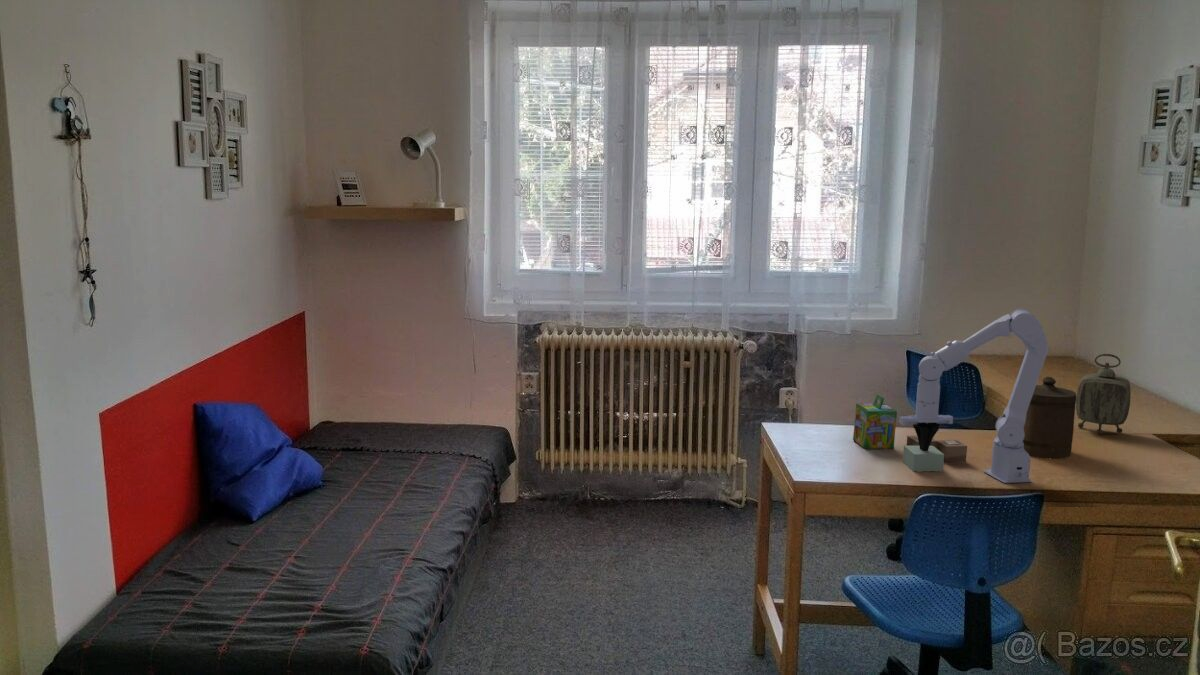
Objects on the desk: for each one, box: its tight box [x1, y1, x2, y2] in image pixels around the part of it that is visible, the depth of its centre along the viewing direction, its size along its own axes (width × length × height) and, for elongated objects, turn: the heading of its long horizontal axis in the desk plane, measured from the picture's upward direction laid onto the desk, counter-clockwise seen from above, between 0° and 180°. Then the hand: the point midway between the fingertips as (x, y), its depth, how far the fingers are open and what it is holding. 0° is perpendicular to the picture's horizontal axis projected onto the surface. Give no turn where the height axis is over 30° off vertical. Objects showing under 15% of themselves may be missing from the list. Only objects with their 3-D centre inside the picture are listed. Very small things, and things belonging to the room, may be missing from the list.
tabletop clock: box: [1075, 353, 1132, 435], centre depth 274 cm, size 14×9×25 cm, turn 59°
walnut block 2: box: [935, 439, 968, 464], centre depth 247 cm, size 6×6×5 cm
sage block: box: [902, 445, 945, 473], centre depth 240 cm, size 8×8×5 cm
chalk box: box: [852, 394, 898, 450], centre depth 259 cm, size 9×9×15 cm
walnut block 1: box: [905, 435, 938, 449], centre depth 251 cm, size 6×6×5 cm
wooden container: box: [1023, 376, 1077, 460], centre depth 254 cm, size 15×15×22 cm
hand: (923, 449), depth 240 cm, fingers closed
